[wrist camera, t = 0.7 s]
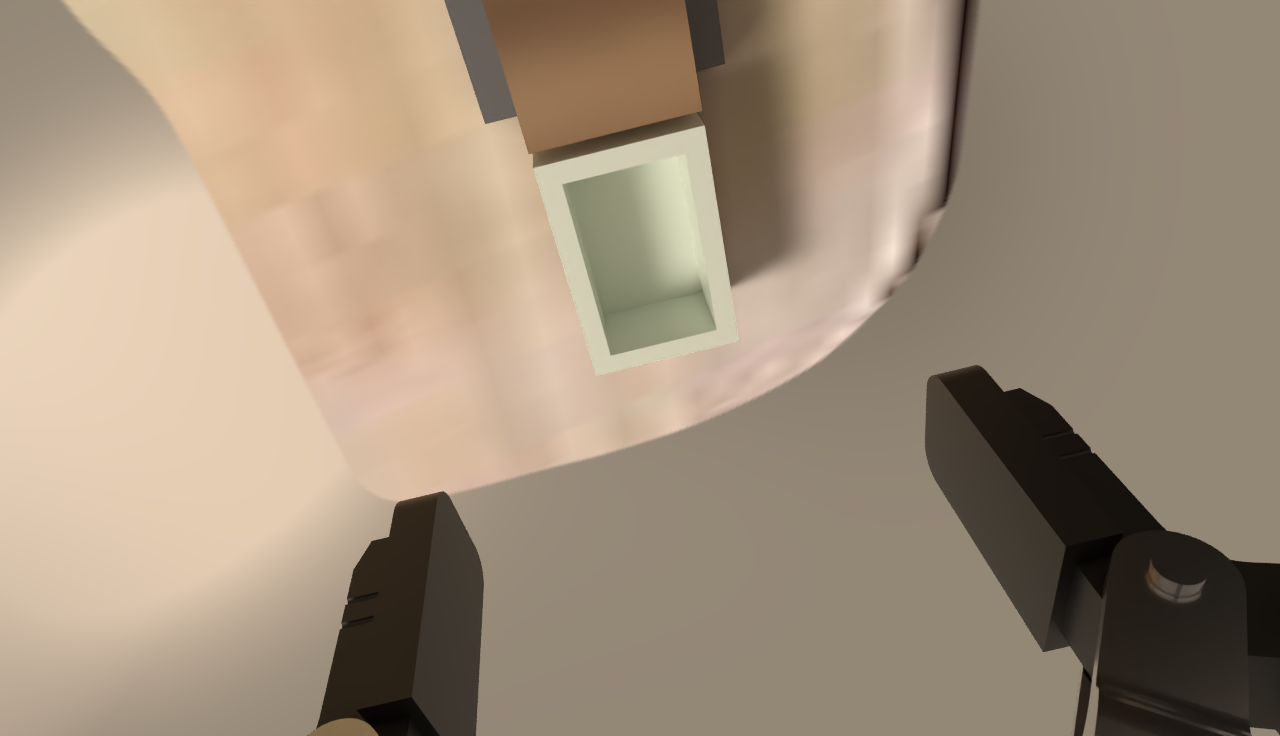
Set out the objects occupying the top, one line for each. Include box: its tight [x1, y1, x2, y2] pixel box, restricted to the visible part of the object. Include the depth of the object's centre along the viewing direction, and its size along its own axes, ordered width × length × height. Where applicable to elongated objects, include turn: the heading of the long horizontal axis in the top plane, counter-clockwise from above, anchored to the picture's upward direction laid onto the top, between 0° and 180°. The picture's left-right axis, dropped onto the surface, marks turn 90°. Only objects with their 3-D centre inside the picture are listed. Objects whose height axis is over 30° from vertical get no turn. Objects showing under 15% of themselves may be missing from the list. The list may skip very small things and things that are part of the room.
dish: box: [533, 112, 739, 376], centre depth 30 cm, size 9×6×4 cm, turn 12°
